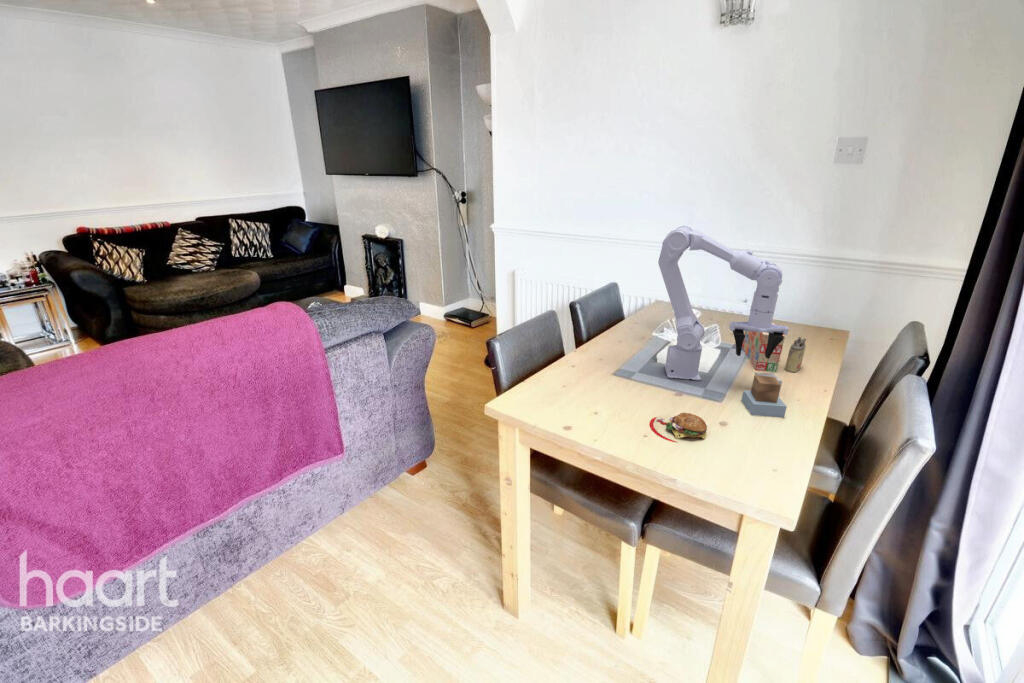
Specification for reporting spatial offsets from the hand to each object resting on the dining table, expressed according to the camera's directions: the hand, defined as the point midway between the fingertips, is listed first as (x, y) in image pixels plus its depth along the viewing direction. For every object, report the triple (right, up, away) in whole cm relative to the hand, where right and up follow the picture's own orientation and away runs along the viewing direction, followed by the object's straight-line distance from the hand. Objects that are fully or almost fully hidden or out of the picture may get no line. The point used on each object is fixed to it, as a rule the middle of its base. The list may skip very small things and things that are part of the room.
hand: (752, 355), depth 135 cm
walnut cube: (-2, -11, -9) cm, 14 cm away
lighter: (+21, -5, +17) cm, 27 cm away
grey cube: (+4, -11, +1) cm, 11 cm away
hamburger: (-27, -18, -18) cm, 37 cm away
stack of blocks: (+14, -2, +24) cm, 28 cm away
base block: (-2, -14, -8) cm, 16 cm away
